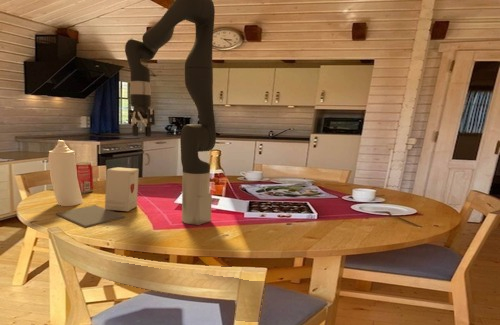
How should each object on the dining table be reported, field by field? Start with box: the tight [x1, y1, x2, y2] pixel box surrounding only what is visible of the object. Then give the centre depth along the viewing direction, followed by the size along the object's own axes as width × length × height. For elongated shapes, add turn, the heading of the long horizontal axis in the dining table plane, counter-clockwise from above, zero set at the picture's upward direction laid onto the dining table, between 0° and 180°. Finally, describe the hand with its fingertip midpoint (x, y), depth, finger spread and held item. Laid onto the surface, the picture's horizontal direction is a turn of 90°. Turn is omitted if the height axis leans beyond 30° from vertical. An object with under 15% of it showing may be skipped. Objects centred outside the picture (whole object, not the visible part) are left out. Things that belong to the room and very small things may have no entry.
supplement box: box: [104, 166, 140, 212], centre depth 120 cm, size 9×9×15 cm
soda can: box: [76, 161, 94, 194], centre depth 144 cm, size 7×7×13 cm
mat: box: [55, 204, 127, 228], centre depth 111 cm, size 20×14×1 cm
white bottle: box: [48, 139, 84, 207], centre depth 123 cm, size 12×11×25 cm
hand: (141, 136), depth 125 cm, fingers open, 8 cm apart
